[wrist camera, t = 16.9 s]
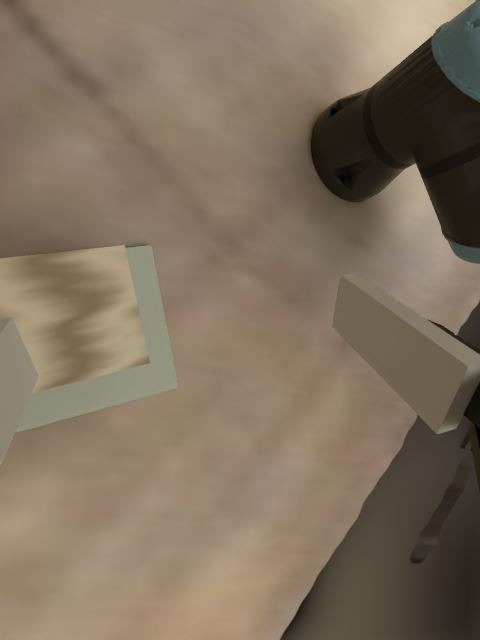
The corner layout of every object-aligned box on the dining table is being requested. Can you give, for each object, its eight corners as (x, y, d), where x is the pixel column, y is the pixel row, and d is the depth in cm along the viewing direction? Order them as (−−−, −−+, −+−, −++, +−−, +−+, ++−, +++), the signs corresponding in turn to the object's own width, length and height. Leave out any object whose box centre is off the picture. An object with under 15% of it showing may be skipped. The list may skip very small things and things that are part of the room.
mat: (150, 246, 39) (151, 245, 38) (176, 386, 40) (178, 387, 40) (-30, 263, 32) (-33, 262, 31) (12, 431, 34) (10, 434, 33)
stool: (124, 244, 26) (150, 363, 27) (118, 265, 37) (136, 348, 38) (-26, 261, 22) (11, 398, 23) (18, 278, 33) (41, 370, 34)
